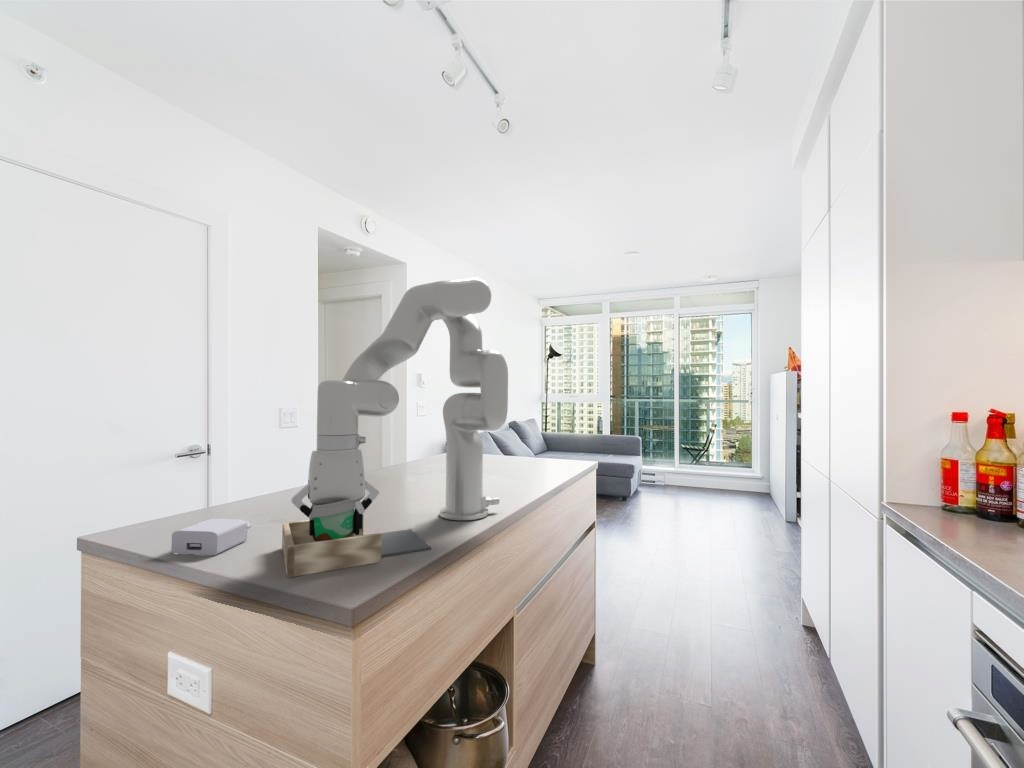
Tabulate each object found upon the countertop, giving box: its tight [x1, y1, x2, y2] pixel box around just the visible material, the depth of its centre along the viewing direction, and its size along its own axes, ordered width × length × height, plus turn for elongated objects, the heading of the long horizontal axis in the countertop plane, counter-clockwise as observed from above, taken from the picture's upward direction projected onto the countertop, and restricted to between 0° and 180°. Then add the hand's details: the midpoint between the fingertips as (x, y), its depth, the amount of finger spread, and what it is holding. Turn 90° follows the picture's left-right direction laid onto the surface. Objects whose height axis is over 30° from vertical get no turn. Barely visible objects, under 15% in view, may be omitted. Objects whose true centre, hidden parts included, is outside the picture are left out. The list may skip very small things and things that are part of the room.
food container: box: [312, 498, 356, 542], centre depth 88 cm, size 12×6×10 cm, turn 3°
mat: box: [380, 528, 432, 558], centre depth 94 cm, size 10×14×1 cm
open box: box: [281, 514, 382, 578], centre depth 87 cm, size 16×17×5 cm
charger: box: [170, 518, 252, 556], centre depth 94 cm, size 5×9×15 cm
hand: (336, 535), depth 88 cm, fingers closed on food container, 6 cm apart
